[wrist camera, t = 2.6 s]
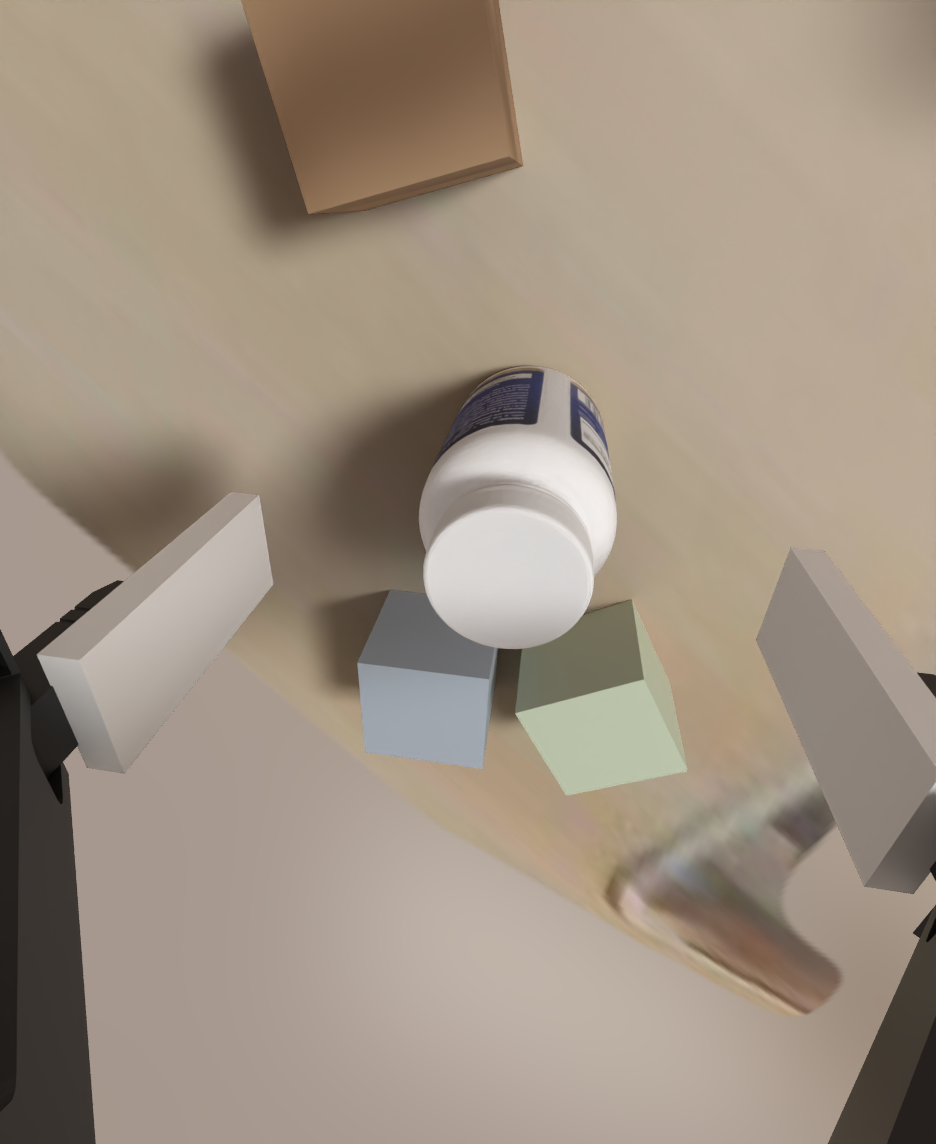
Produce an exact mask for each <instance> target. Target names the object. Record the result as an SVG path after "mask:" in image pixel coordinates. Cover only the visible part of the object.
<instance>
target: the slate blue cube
mask: <svg viewBox="0 0 936 1144" xmlns="http://www.w3.org/2000/svg"><path fill="white" fill-rule="evenodd" d="M497 656H498V648H495V647H490V646H486V645H482V644H479V643H477V642H474V641H472V640H470V639H468V638H466V637H463V636H462V635H460V634H459V633H457V632H456V631H454V630H453V629H452V628H450V627H449V626H448V625H447V624H446V623H445V622H444V621H443V620H442V619H441V618H440V617H439V616H438V614H437V613H436V611H435V610H434V608H433V607H432V605H431V603H430V601H429V599H428V597H427V594H424V593H415V592H406V591H397V590H390V591H389V594H388V596H387V598H386V600H385V602H384V605H383V607H382V609H381V611H380V614H379V616H378V618H377V620H376V622H375V625H374V627H373V629H372V631H371V633H370V636H369V638H368V640H367V642H366V644H365V647H364V649H363V651H362V653H361V656H360V658H359V660H358V662H357V666H358V677H359V689H360V700H361V711H362V723H363V734H364V745H365V752H366V753H374V754H381V755H388V756H395V757H402V758H409V759H416V760H423V761H430V762H437V763H444V764H451V765H458V766H465V767H472V768H480V769H483V763H484V756H485V749H486V743H487V736H488V729H489V723H490V716H491V709H492V703H493V696H494V690H495V680H496V668H497Z"/></svg>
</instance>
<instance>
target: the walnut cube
mask: <svg viewBox="0 0 936 1144" xmlns="http://www.w3.org/2000/svg"><path fill="white" fill-rule="evenodd" d="M241 1H242V4H243V8H244V11H245V14H246V17H247V20H248V24H249V27H250V30H251V33H252V36H253V40H254V43H255V46H256V49H257V52H258V55H259V59H260V62H261V65H262V68H263V71H264V75H265V78H266V81H267V84H268V87H269V91H270V94H271V97H272V100H273V103H274V107H275V110H276V113H277V116H278V119H279V123H280V126H281V129H282V132H283V135H284V139H285V142H286V145H287V148H288V151H289V154H290V158H291V161H292V164H293V167H294V170H295V174H296V177H297V180H298V183H299V186H300V190H301V193H302V196H303V199H304V202H305V206H306V209H307V212H308V214H319V213H333V212H348V211H362V210H369V209H372V208H376V207H379V206H383V205H386V204H390V203H393V202H397V201H400V200H404V199H408V198H411V197H415V196H418V195H422V194H425V193H429V192H432V191H436V190H439V189H443V188H446V187H450V186H453V185H457V184H460V183H464V182H468V181H471V180H475V179H478V178H482V177H485V176H489V175H492V174H496V173H499V172H503V171H506V170H510V169H513V168H517V167H521V166H523V162H522V155H521V148H520V142H519V135H518V128H517V122H516V115H515V108H514V102H513V95H512V88H511V82H510V75H509V68H508V62H507V55H506V48H505V42H504V35H503V28H502V22H501V15H500V8H499V2H498V0H241Z"/></svg>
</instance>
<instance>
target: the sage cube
mask: <svg viewBox="0 0 936 1144" xmlns="http://www.w3.org/2000/svg"><path fill="white" fill-rule="evenodd" d="M515 714H516V716H517V717H518V719H519V721H520V722H521V724H522V725H523V727H524V729H525V730H526V732H527V733H528V735H529V737H530V738H531V740H532V741H533V743H534V745H535V746H536V748H537V749H538V751H539V753H540V754H541V756H542V757H543V759H544V761H545V762H546V764H547V765H548V767H549V769H550V770H551V772H552V773H553V775H554V777H555V778H556V780H557V781H558V783H559V785H560V786H561V788H562V789H563V791H564V793H565V794H566V796H567V795H572V794H577V793H581V792H586V791H591V790H596V789H601V788H606V787H611V786H616V785H621V784H626V783H631V782H636V781H641V780H646V779H651V778H656V777H661V776H666V775H671V774H676V773H681V772H686V771H688V770H687V765H686V760H685V755H684V750H683V745H682V741H681V736H680V731H679V726H678V721H677V716H676V711H675V706H674V701H673V696H672V691H671V686H670V682H669V680H668V678H667V676H666V673H665V671H664V669H663V667H662V665H661V662H660V660H659V658H658V656H657V654H656V651H655V649H654V647H653V645H652V643H651V640H650V638H649V636H648V634H647V632H646V629H645V627H644V625H643V623H642V620H641V618H640V616H639V614H638V612H637V609H636V607H635V605H634V603H633V601H632V599H631V600H628V601H625V602H622V603H619V604H615V605H612V606H609V607H606V608H603V609H600V610H597V611H593V612H590V613H587V614H584V615H582V617H581V618H580V619H579V621H578V622H577V623H576V624H575V625H574V626H573V627H572V628H571V629H570V630H568V631H567V632H566V633H564V634H563V635H561V636H560V637H558V638H556V639H554V640H552V641H550V642H547V643H545V644H542V645H539V646H535V647H530V648H523V649H522V653H521V662H520V671H519V680H518V690H517V699H516V708H515Z"/></svg>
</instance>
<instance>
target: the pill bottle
mask: <svg viewBox="0 0 936 1144" xmlns="http://www.w3.org/2000/svg"><path fill="white" fill-rule="evenodd" d="M419 527H420V533H421V538H422V541H423V544H424V547H425V550H426V555H425V559H424V564H423V581H424V587H425V591H426V594H427V597H428V599H429V601H430V603H431V605H432V607H433V608H434V610H435V611H436V613H437V614H438V616H439V617H440V618H441V619H442V620H443V621H444V622H445V623H446V624H447V625H448V626H449V627H450V628H452V629H453V630H454V631H456V632H457V633H459V634H460V635H462V636H463V637H466V638H468V639H470V640H472V641H474V642H477V643H479V644H482V645H486V646H490V647H495V648H503V649H523V648H530V647H535V646H539V645H542V644H545V643H547V642H550V641H552V640H554V639H556V638H558V637H560V636H561V635H563V634H564V633H566V632H567V631H568V630H570V629H571V628H572V627H573V626H574V625H575V624H576V623H577V622H578V621H579V619H580V618H581V617H582V615H583V614H584V612H585V611H586V609H587V607H588V605H589V602H590V599H591V596H592V592H593V585H594V577H595V576H596V575H597V573H598V572H599V571H600V570H601V568H602V567H603V565H604V563H605V562H606V560H607V558H608V556H609V553H610V551H611V549H612V545H613V542H614V538H615V533H616V527H617V511H616V499H615V492H614V486H613V481H612V473H611V467H610V460H609V454H608V448H607V441H606V436H605V430H604V425H603V421H602V418H601V415H600V412H599V410H598V408H597V406H596V404H595V402H594V400H593V399H592V397H591V396H590V395H589V393H588V392H587V391H586V390H585V389H584V388H583V387H582V386H581V385H580V384H579V383H578V382H576V381H575V380H574V379H572V378H571V377H569V376H567V375H565V374H564V373H561V372H559V371H556V370H554V369H550V368H546V367H539V366H520V367H515V368H510V369H507V370H503V371H501V372H498V373H496V374H494V375H493V376H491V377H489V378H488V379H486V380H485V381H483V382H482V383H481V384H480V385H479V386H478V387H477V388H476V389H475V390H474V391H473V392H472V393H471V394H470V395H469V397H468V398H467V399H466V401H465V402H464V404H463V406H462V407H461V409H460V411H459V413H458V415H457V418H456V420H455V422H454V424H453V426H452V428H451V430H450V432H449V434H448V437H447V439H446V441H445V443H444V445H443V447H442V449H441V451H440V453H439V455H438V457H437V459H436V461H435V463H434V465H433V467H432V469H431V471H430V474H429V476H428V478H427V481H426V484H425V487H424V489H423V493H422V496H421V501H420V508H419Z"/></svg>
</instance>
